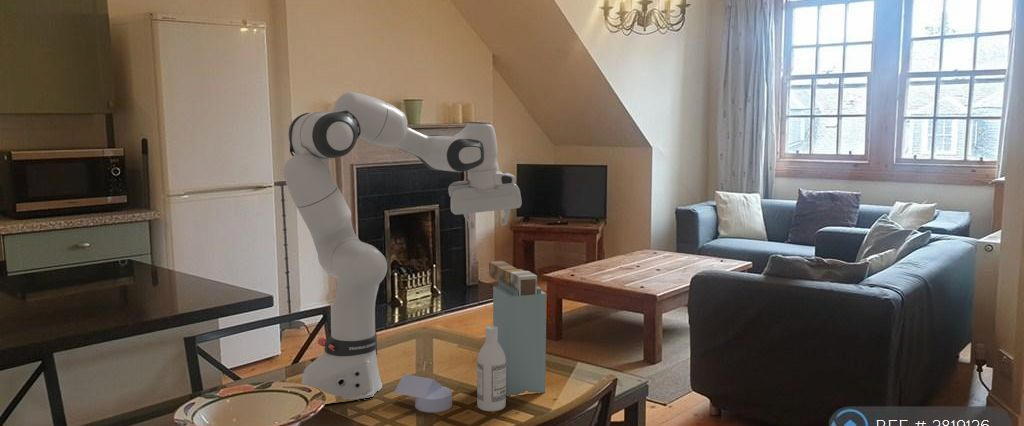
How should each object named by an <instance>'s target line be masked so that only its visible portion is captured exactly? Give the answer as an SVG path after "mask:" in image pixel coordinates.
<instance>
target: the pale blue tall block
mask: <svg viewBox="0 0 1024 426" xmlns="http://www.w3.org/2000/svg"><path fill="white" fill-rule="evenodd" d="M492 293H493V294H492V301H493V302H492V307H493V308H492V326H496V327H497V328H498V343H499V345H500V346H501V348H502V349H503V351H504V354H505V358H506V396H507V395H508V396H511V395H518V394H520V393H524V392H525V391H528V392H540V393H539V394H544V393H546V371H547V370H546V369H547V367H546V358H547V357H546V356H547V352H546V350H547V347H546V345H547V292H544V291H542V288H541V287H539V286H538V285H537V294H536V295H524V296H518V290H517V289H515V288H513V287H512V286H510V285H509V284H507V283H505V282H504V281H502V280H499V281H497V285H494V286H492ZM508 396H507V397H508Z"/></svg>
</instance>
